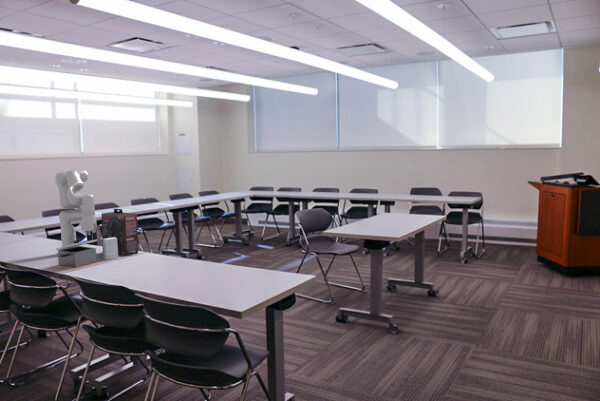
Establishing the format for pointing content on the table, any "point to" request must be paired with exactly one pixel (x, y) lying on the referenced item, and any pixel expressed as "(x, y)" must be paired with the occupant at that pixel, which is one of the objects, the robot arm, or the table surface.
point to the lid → (76, 244)
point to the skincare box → (110, 248)
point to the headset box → (121, 230)
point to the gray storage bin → (77, 256)
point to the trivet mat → (74, 268)
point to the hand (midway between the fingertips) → (89, 240)
